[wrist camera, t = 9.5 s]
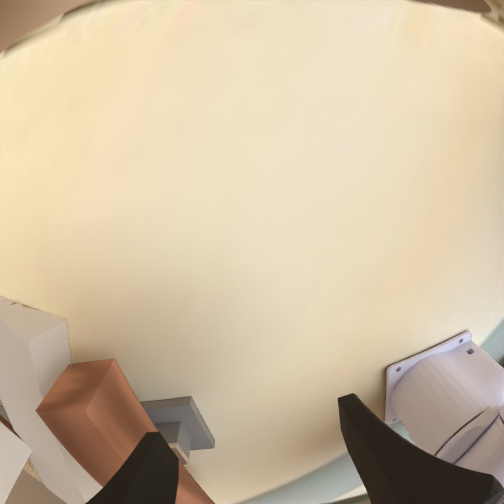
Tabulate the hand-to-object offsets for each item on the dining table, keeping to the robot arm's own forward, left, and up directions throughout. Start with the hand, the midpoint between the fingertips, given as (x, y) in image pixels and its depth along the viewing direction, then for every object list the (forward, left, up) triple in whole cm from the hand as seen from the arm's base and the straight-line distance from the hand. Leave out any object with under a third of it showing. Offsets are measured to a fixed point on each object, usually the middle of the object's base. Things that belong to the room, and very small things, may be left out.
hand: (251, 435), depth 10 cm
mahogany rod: (+10, +9, -6) cm, 15 cm away
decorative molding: (+26, +10, -11) cm, 30 cm away
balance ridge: (+10, +9, -10) cm, 17 cm away
